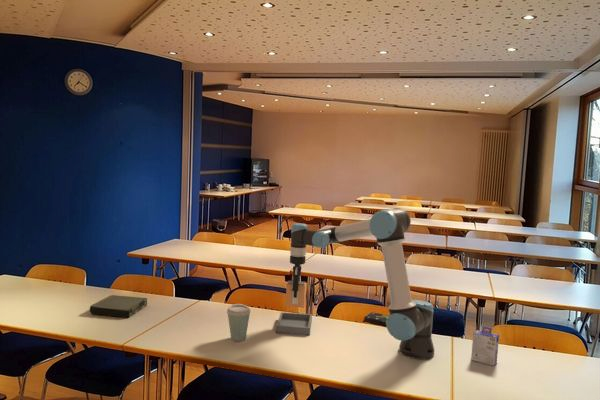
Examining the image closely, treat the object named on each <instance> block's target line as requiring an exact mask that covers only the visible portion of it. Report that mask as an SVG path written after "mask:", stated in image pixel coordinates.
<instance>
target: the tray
mask: <svg viewBox="0 0 600 400" xmlns="http://www.w3.org/2000/svg"><path fill="white" fill-rule="evenodd" d="M312 321H313V314H311V313H299V312H297V313H296V312H283V311H280V314H279V317H278V319H277V323H276V326H275V327H276V328H275V333H276V334H288V335H298V334H301V335H300V336H310V335H311V328H312Z"/></svg>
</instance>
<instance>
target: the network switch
mask: <svg viewBox="0 0 600 400" xmlns="http://www.w3.org/2000/svg"><path fill="white" fill-rule="evenodd" d="M147 305H148V298H147V297H137V296H129V295H128V296H127V295H117V294H112V295H108V296H106V297H104V298H102V299H100V300H99V301H97V302H95V303H93V304H91V305H90V306H89V312H90V314H92V315H95V316H105V317H114V318H122V319H129V318H130V317H132V316H133V315H135V314H136V313H138V312H139V311H140V310H142V309H143V308H144V307H147Z"/></svg>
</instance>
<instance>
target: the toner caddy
mask: <svg viewBox="0 0 600 400" xmlns="http://www.w3.org/2000/svg"><path fill="white" fill-rule="evenodd" d="M306 284H307V283H306V281H301V280H300V281H299V284H298V304H292V295H293V291H291V289H293V280H287V282H286V287H285V288H286V289H285V290H286V291H285V307H287V308H289V307H290V308H301V309H302V308H305V304H306V292H307V291H306V288H307V287H306V286H307V285H306Z"/></svg>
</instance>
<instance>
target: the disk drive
mask: <svg viewBox="0 0 600 400" xmlns="http://www.w3.org/2000/svg"><path fill="white" fill-rule="evenodd" d="M389 316H390V315H387V314H383V313H379V312H373V311H371V312H370V313H368V314H367V315H365V316H364V318H363V321H364V322H367V323H371V324H376V325H379V326H380V325H381V326H383V327H387V326H386V322H387V319H388V317H389Z"/></svg>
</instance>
